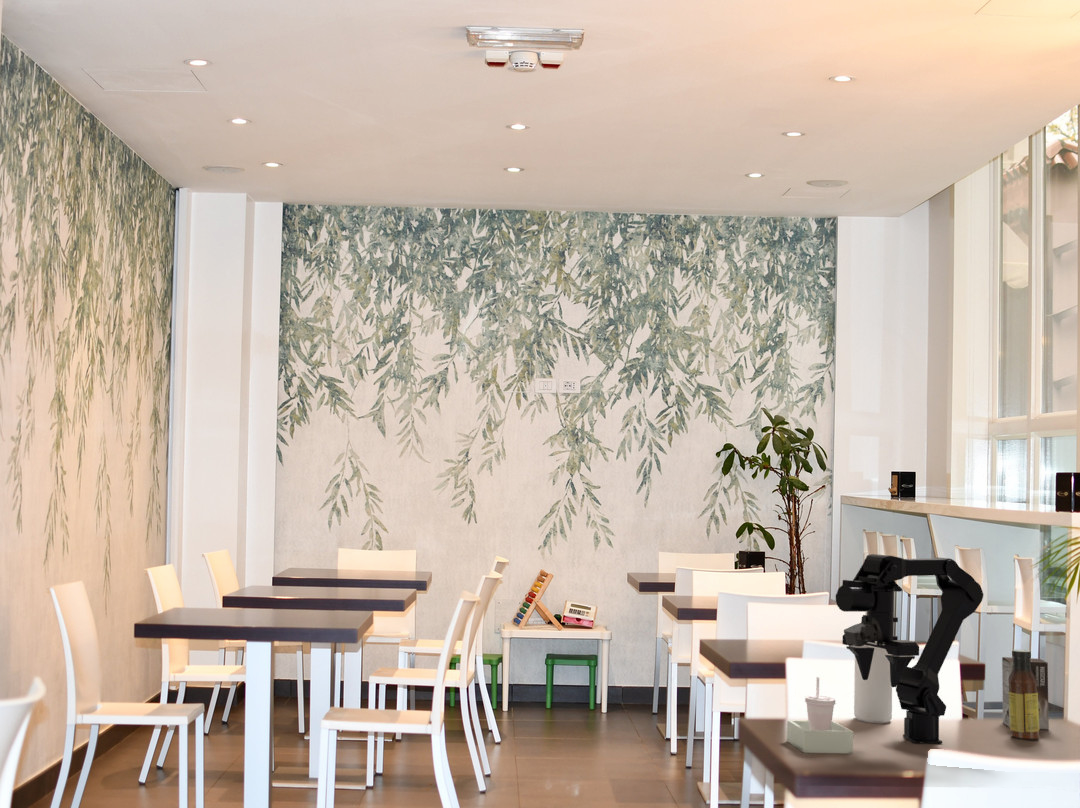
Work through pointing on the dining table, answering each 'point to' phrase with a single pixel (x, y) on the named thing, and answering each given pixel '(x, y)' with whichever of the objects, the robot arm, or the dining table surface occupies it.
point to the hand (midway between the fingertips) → (879, 683)
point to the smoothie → (819, 710)
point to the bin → (819, 738)
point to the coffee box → (1041, 675)
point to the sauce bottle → (1023, 698)
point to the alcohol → (874, 690)
